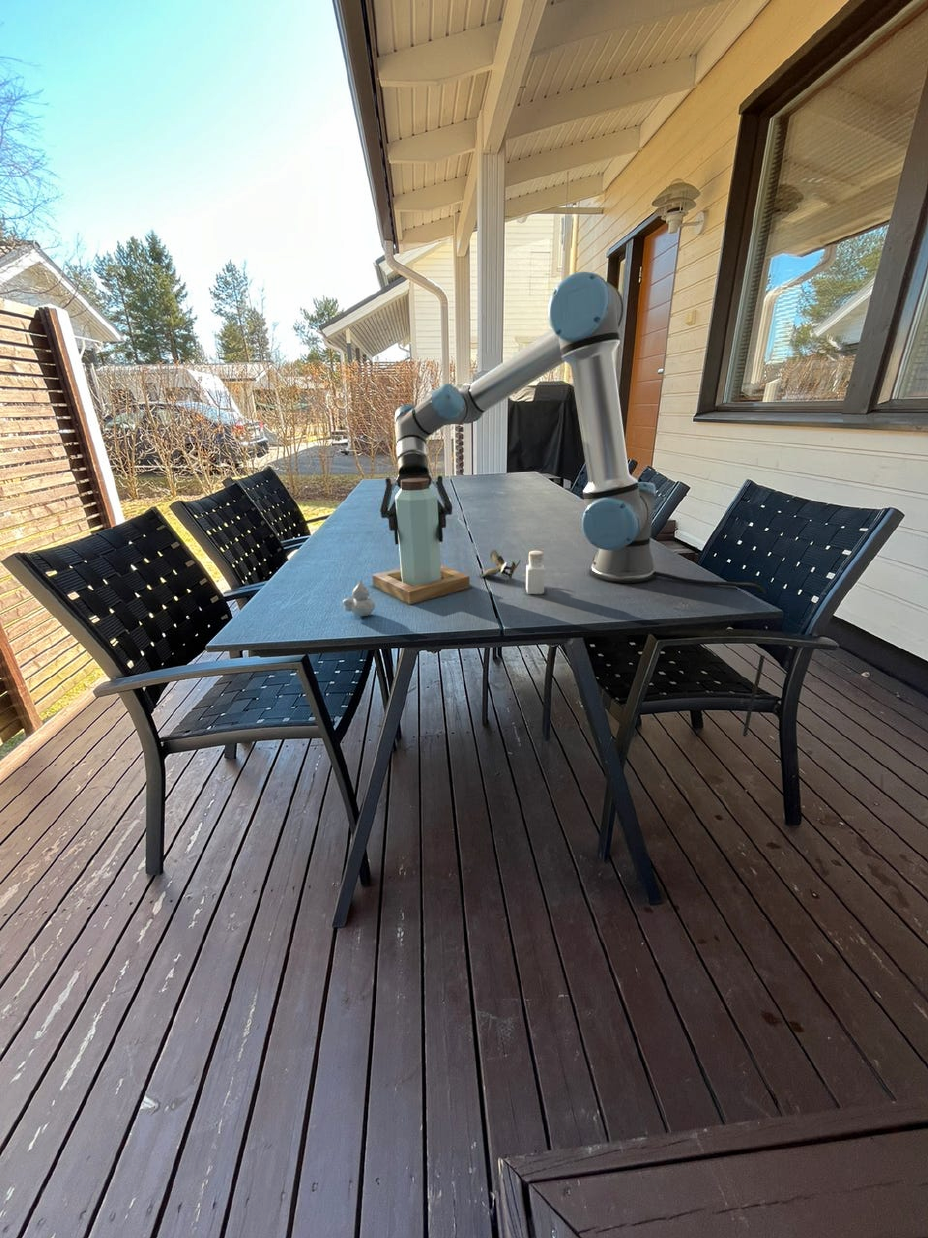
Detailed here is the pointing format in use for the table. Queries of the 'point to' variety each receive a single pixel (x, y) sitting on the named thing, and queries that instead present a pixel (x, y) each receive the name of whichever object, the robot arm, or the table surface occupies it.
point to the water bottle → (418, 532)
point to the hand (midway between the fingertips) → (419, 540)
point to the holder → (410, 595)
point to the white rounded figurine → (360, 601)
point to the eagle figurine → (500, 566)
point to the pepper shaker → (535, 573)
